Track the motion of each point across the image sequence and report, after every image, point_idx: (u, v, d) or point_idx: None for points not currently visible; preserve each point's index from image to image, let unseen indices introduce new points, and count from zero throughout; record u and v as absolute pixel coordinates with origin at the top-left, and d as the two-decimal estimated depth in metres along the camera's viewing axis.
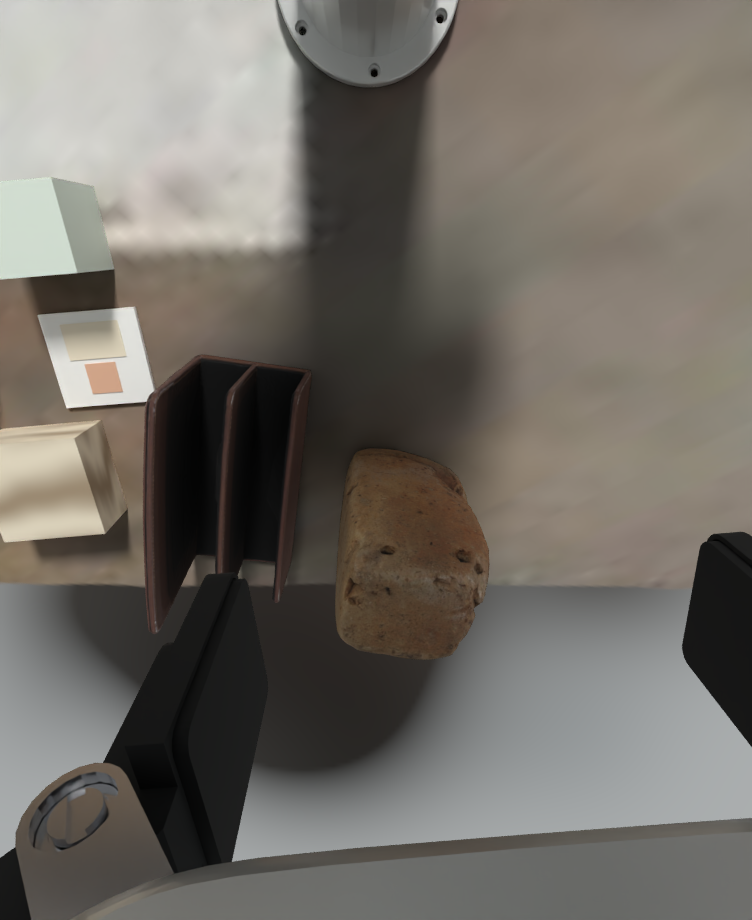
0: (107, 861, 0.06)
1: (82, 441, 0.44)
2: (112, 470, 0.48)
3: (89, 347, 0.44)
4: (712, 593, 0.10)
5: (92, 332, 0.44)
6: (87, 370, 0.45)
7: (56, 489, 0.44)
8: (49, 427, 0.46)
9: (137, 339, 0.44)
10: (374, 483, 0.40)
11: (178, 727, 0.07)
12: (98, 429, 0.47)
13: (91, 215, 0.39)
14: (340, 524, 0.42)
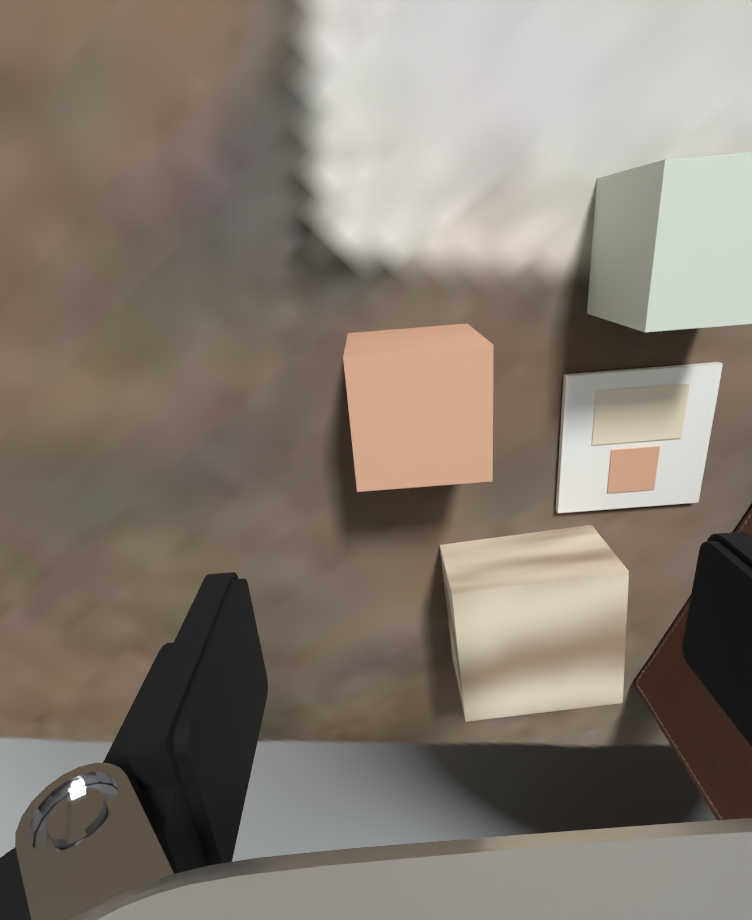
0: (107, 861, 0.06)
1: None
2: None
3: (630, 425, 0.28)
4: (712, 593, 0.10)
5: (644, 402, 0.27)
6: (612, 459, 0.29)
7: (572, 645, 0.28)
8: (524, 542, 0.30)
9: (707, 412, 0.28)
10: None
11: (178, 727, 0.07)
12: None
13: None
14: None
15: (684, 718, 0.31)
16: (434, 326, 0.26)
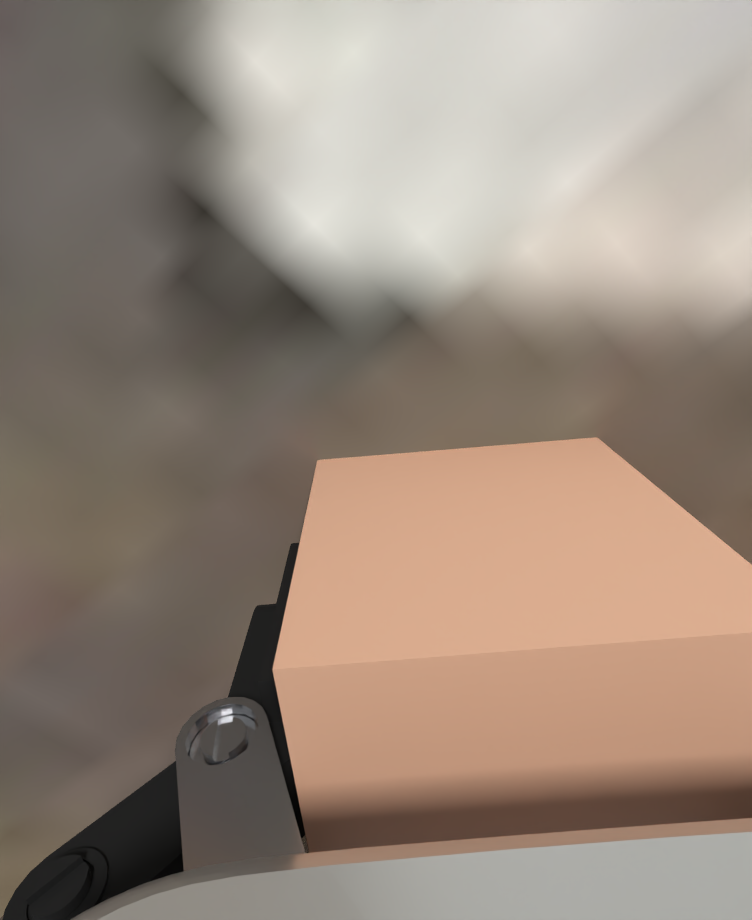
0: (242, 786, 0.06)
1: None
2: None
3: None
4: None
5: None
6: None
7: None
8: None
9: None
10: None
11: None
12: None
13: None
14: None
15: None
16: (522, 446, 0.11)
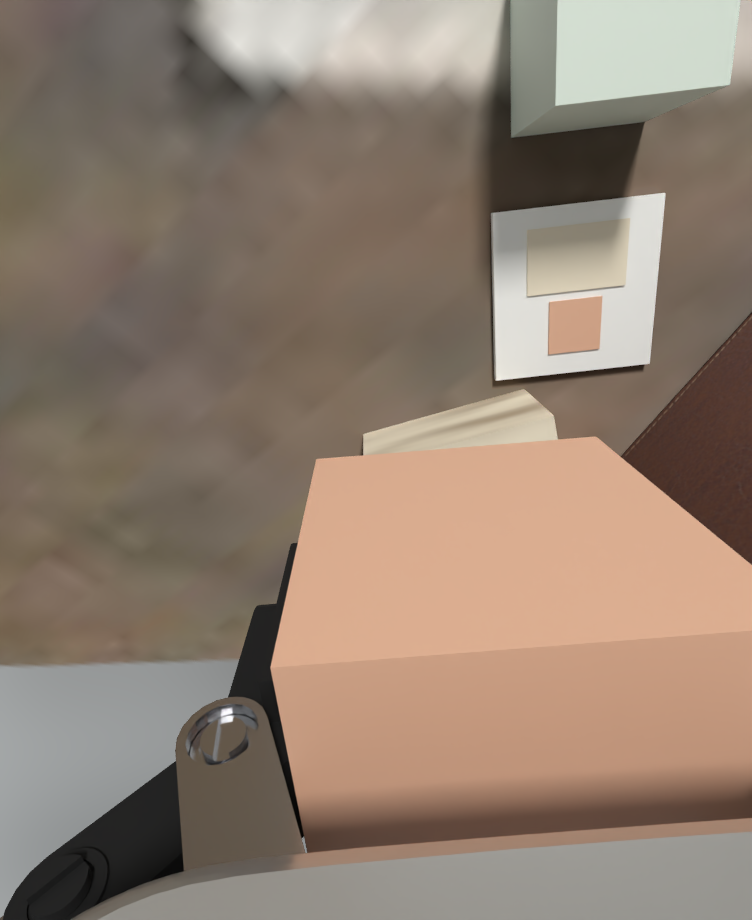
0: (242, 786, 0.06)
1: None
2: None
3: (567, 271, 0.25)
4: None
5: (580, 242, 0.25)
6: (551, 313, 0.26)
7: None
8: (450, 415, 0.28)
9: (652, 253, 0.25)
10: None
11: None
12: None
13: None
14: None
15: None
16: (521, 445, 0.11)
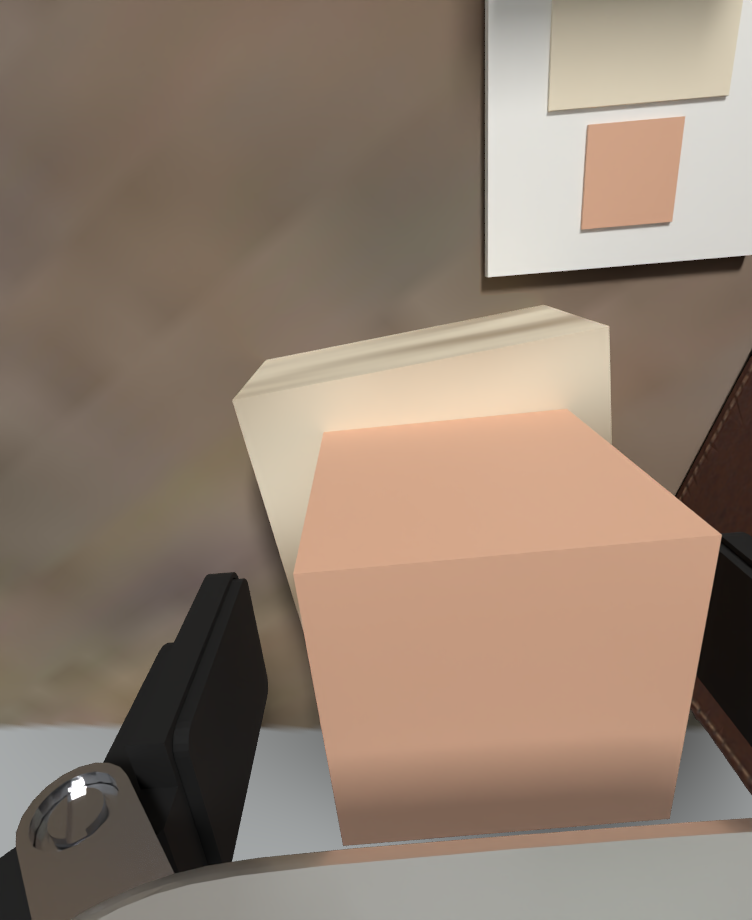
0: (107, 861, 0.06)
1: None
2: None
3: (625, 61, 0.14)
4: (712, 593, 0.10)
5: (653, 0, 0.13)
6: (590, 147, 0.14)
7: None
8: (414, 335, 0.16)
9: None
10: None
11: (178, 727, 0.07)
12: None
13: None
14: None
15: None
16: (501, 417, 0.13)
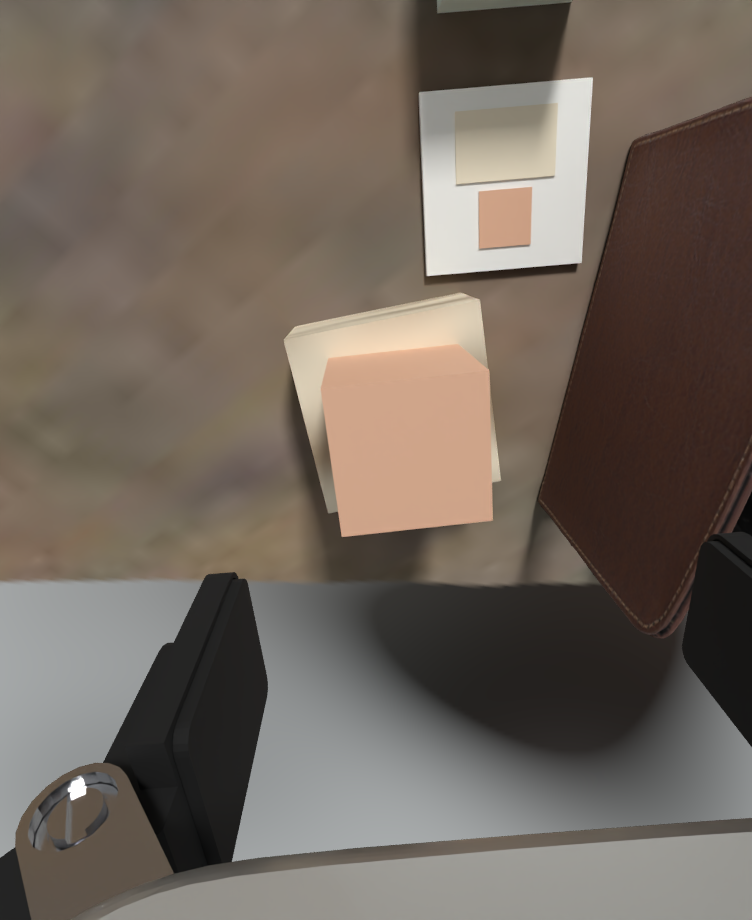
0: (107, 861, 0.06)
1: None
2: None
3: (496, 158, 0.25)
4: (712, 593, 0.10)
5: (509, 127, 0.25)
6: (480, 203, 0.26)
7: None
8: (383, 310, 0.27)
9: (581, 143, 0.25)
10: None
11: (178, 727, 0.07)
12: None
13: None
14: None
15: (574, 505, 0.28)
16: (422, 348, 0.24)
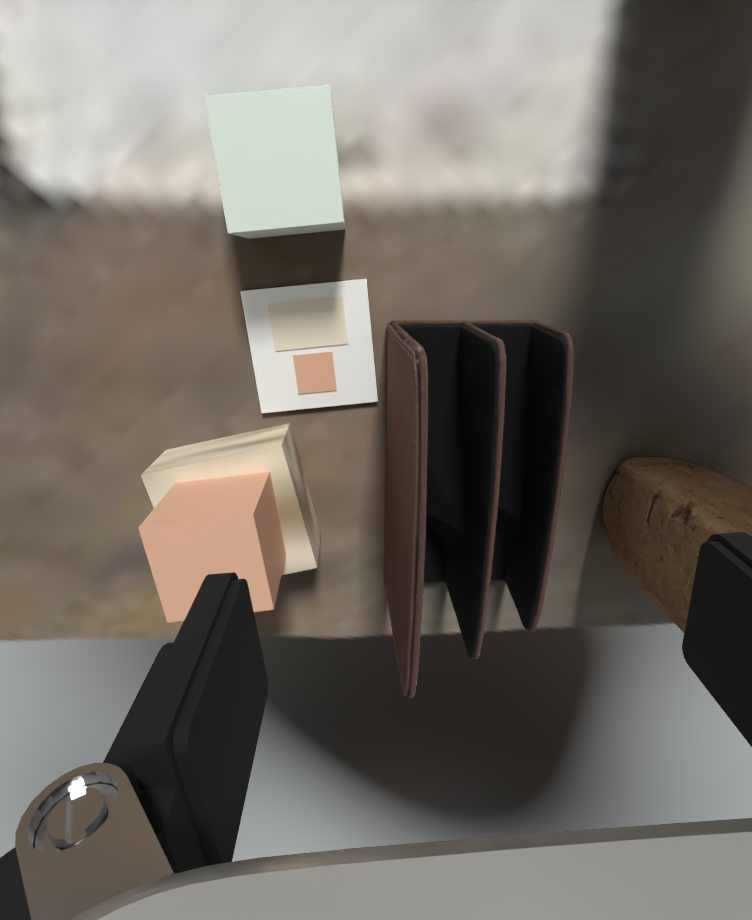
0: (107, 861, 0.06)
1: (285, 449, 0.33)
2: (306, 486, 0.38)
3: (302, 333, 0.34)
4: (712, 593, 0.10)
5: (309, 313, 0.34)
6: (295, 363, 0.35)
7: None
8: (228, 439, 0.36)
9: (365, 321, 0.34)
10: (718, 501, 0.30)
11: (179, 727, 0.07)
12: (290, 434, 0.36)
13: None
14: (652, 556, 0.32)
15: (390, 588, 0.37)
16: (243, 475, 0.33)
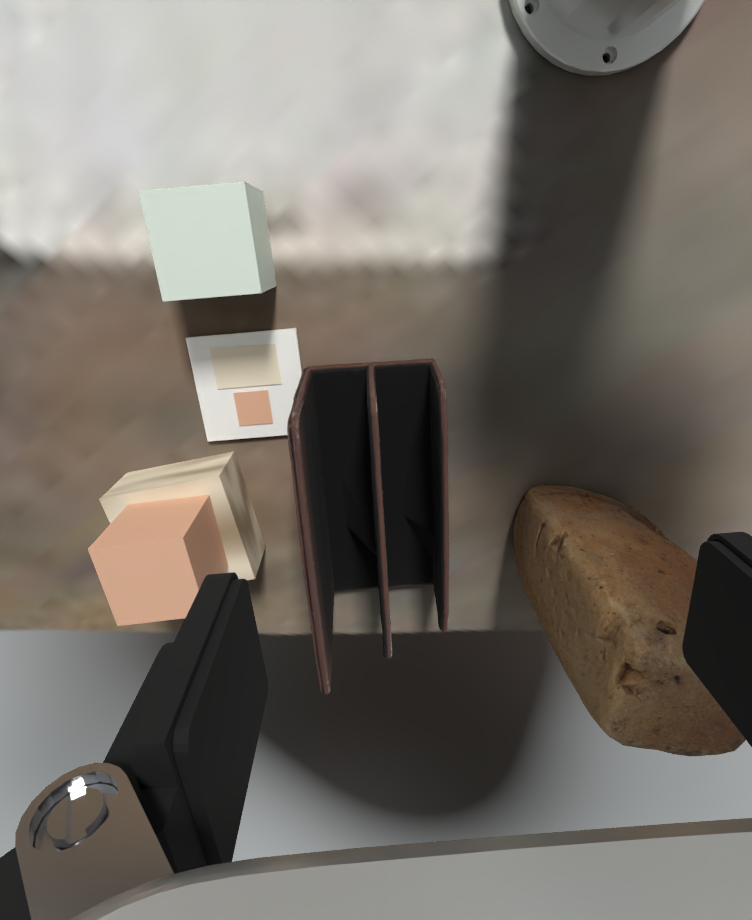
0: (107, 861, 0.06)
1: (224, 478, 0.38)
2: (249, 506, 0.43)
3: (241, 374, 0.39)
4: (712, 593, 0.10)
5: (246, 357, 0.38)
6: (235, 399, 0.40)
7: None
8: (180, 465, 0.41)
9: (295, 365, 0.39)
10: (588, 533, 0.35)
11: (178, 727, 0.07)
12: (233, 462, 0.41)
13: (263, 225, 0.34)
14: (536, 577, 0.37)
15: None
16: (185, 498, 0.38)
